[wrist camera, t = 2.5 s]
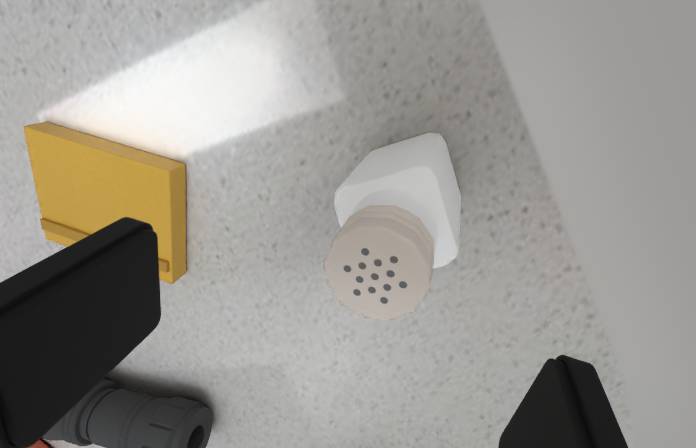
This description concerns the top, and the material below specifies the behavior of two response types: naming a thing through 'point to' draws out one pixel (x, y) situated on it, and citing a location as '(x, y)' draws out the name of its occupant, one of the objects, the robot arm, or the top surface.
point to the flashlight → (133, 420)
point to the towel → (107, 190)
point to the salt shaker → (394, 227)
